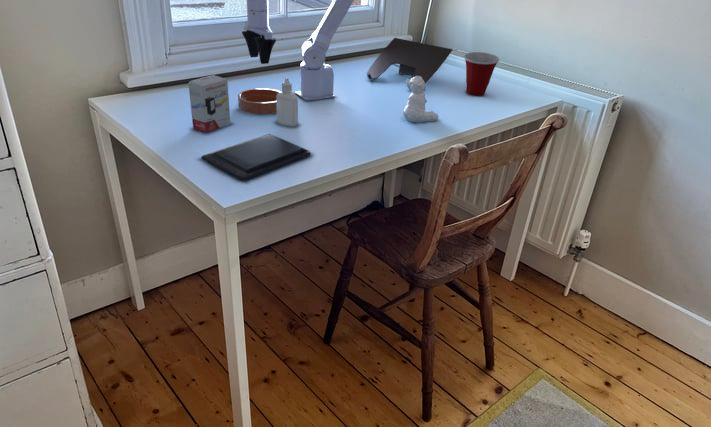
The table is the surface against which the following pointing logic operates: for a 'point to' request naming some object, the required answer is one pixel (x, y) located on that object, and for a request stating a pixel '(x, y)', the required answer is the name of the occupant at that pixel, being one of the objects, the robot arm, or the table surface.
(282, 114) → the eye dropper bottle
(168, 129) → the table surface
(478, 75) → the plastic cup
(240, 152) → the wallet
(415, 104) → the white creature statuette
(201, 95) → the ink box
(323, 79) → the robot arm
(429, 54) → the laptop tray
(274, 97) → the bowl
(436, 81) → the table surface
